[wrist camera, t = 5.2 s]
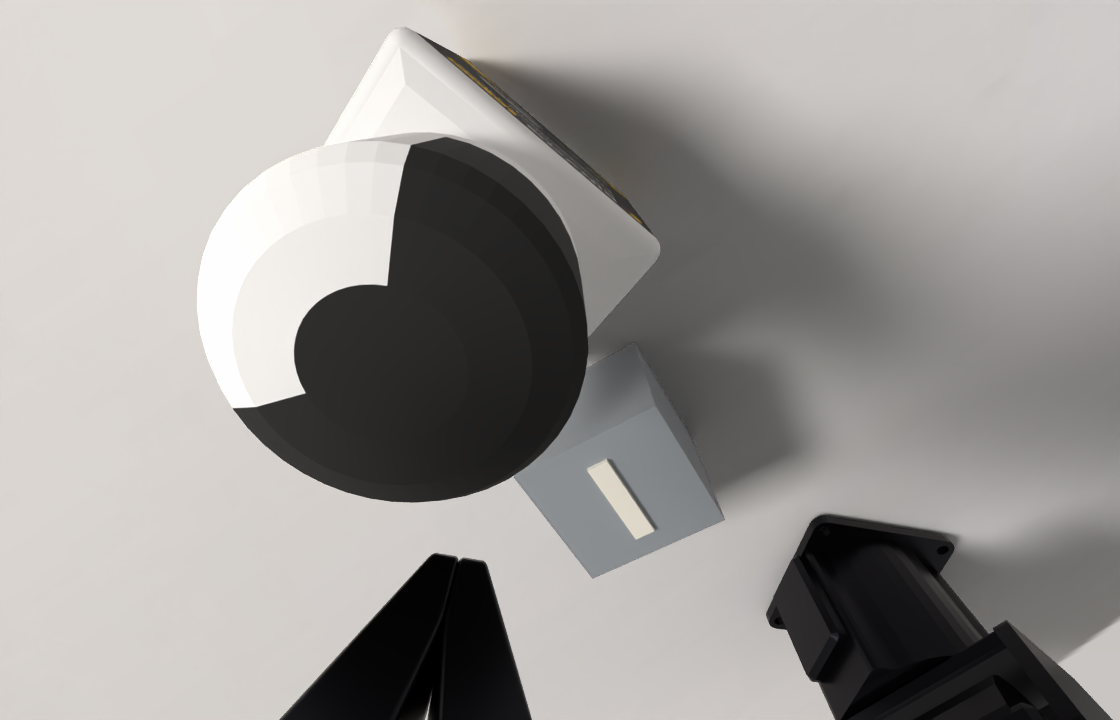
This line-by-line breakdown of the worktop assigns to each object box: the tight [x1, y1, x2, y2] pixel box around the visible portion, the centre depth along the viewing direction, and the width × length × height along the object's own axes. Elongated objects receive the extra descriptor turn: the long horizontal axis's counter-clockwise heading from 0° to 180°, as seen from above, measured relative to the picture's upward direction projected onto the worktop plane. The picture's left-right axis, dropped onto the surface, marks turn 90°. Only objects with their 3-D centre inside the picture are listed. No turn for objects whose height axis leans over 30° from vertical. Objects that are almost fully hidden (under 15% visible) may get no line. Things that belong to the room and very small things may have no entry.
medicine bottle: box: [197, 27, 660, 502], centre depth 13 cm, size 7×7×12 cm
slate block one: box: [514, 342, 725, 578], centre depth 20 cm, size 5×5×5 cm
